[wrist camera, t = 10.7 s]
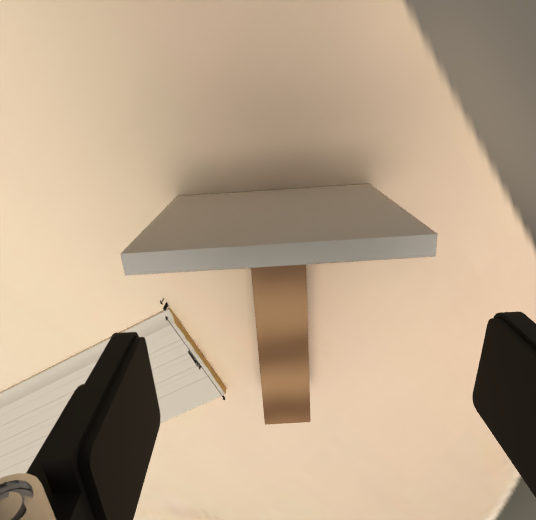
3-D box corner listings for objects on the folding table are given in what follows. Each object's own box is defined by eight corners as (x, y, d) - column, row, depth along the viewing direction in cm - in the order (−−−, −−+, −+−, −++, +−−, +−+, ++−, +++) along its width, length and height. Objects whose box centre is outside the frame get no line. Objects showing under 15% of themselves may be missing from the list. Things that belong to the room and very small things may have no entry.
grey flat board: (-82, 416, 42) (-4, 488, 46) (-106, 438, 39) (-21, 512, 43) (162, 291, 37) (227, 384, 41) (154, 306, 34) (224, 403, 38)
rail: (252, 232, 34) (250, 257, 29) (299, 229, 34) (305, 253, 29) (264, 382, 40) (264, 424, 35) (304, 380, 40) (310, 421, 35)
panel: (177, 195, 33) (120, 253, 20) (369, 183, 33) (437, 234, 20) (185, 253, 35) (138, 340, 22) (367, 241, 35) (429, 323, 22)
